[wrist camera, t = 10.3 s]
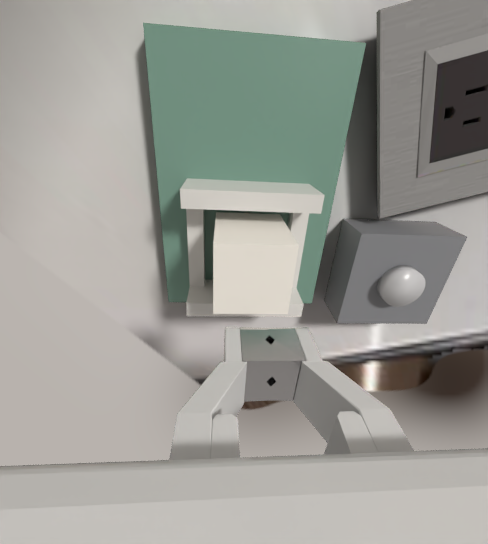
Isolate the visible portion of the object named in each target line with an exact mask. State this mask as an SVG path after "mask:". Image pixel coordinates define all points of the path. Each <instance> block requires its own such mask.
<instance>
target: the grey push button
mask: <svg viewBox="0 0 488 544" xmlns="http://www.w3.org/2000/svg"><path fill="white" fill-rule="evenodd" d="M466 238H467V237H466V236H464V235H462V234H460V233H458V232H456V231H453V230H451V229H449V228H447V227H445V226H443V225H441V224H439V223H437V222H421V221H392V220H364V219H343V222H342V226H341V231H340V235H339V239H338V244H337V248H336V252H335V256H334V261H333V265H332V269H331V274H330V278H329V282H328V286H327V291H326V295H325V299H324V301H325V302H326V304H327V306H328V308H329V309H330V311H331V313H332V315H333V317H334V318H335V320H336V322H337V323H417V324H427V321H428V319H429V317H430V315H431V313H432V311H433V309H434V307H435V304H436V302H437V300H438V298H439V296H440V294H441V292H442V290H443V287H444V285H445V283H446V281H447V279H448V277H449V275H450V273H451V270H452V268H453V266H454V264H455V262H456V260H457V258H458V255H459V253H460V251H461V249H462V247H463V245H464V243H465V241H466Z"/></svg>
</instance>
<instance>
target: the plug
mask: <svg viewBox="0 0 488 544" xmlns="http://www.w3.org/2000/svg"><path fill="white" fill-rule="evenodd" d="M298 248H299V245H298V243H297V242H296V240H295V238H294V237H293V235H292V233H291V232H290V230H289V228H288V227H287V225H286V223H285V222H284V220H283V219H282V217H281V215H280V214H255V213H226V212H216V219H215V230H214V241H213V314H288V310H289V304H290V298H291V292H292V286H293V279H294V273H295V267H296V261H297V255H298Z"/></svg>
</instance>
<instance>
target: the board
mask: <svg viewBox="0 0 488 544" xmlns="http://www.w3.org/2000/svg"><path fill="white" fill-rule="evenodd" d="M143 26H144V37H145V48H146V59H147V70H148V81H149V92H150V103H151V114H152V125H153V136H154V147H155V158H156V169H157V180H158V191H159V202H160V213H161V224H162V235H163V246H164V257H165V268H166V279H167V290H168V301H169V302H186V309H187V316H238V317H301V315H302V310H303V305H304V304H303V303H312V300H313V295H314V290H315V285H316V281H317V276H318V271H319V266H320V262H321V257H322V252H323V247H324V242H325V238H326V233H327V228H328V223H329V219H330V214H331V209H332V204H333V199H334V195H335V190H336V185H337V180H338V176H339V171H340V166H341V161H342V156H343V152H344V147H345V142H346V137H347V132H348V128H349V123H350V118H351V113H352V109H353V104H354V99H355V94H356V89H357V85H358V80H359V75H360V70H361V66H362V61H363V56H364V51H365V46H366V43H361V42H350V41H339V40H328V39H317V38H306V37H295V36H284V35H273V34H262V33H250V32H239V31H228V30H217V29H206V28H195V27H184V26H173V25H162V24H150V23H143ZM216 212H226V213H255V214H280V215H281V217H282V219H283V220H284V222H285V223H286V225H287V227H288V228H289V230H290V232H291V233H292V235H293V237H294V238H295V240H296V242H297V243H298V245H299V248H298V255H297V261H296V267H295V273H294V279H293V286H292V292H291V298H290V304H289V310H288V314H213V241H214V230H215V219H216Z"/></svg>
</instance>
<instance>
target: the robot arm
mask: <svg viewBox="0 0 488 544" xmlns="http://www.w3.org/2000/svg"><path fill="white" fill-rule="evenodd" d="M265 400H285V401H291V400H292V401H294V403H295V404H296V405H297V407H298V408H299V409H300V410H301V412H302V413H303V414H304V415H305V416H306V418H307V419H308V420H309V421H310V422H311V423H312V425H313V426H314V427H315V428H316V430H317V431H318V432H319V433H320V435H321V436H322V437H323V438H324V439H325V440H326V442H327V443H328V444H327V447H326V450H325V453H324V455H298V456H273V457H245V458H244V457H243V458H240V451H239V433H238V418H237V415H238V413H239V411H240V409H241V407H242V406H243V404H244V402H245V401H265ZM0 544H488V448H487V449H459V450H433V451H432V450H431V451H414V450H413V448H412V446H411V445H410V443H409V441H408V439H407V438H406V436H405V434H404V432H403V431H402V429H401V427H400V426H399V424H398V422H397V420H396V419H395V417H394V415H393V413H392V412H391V410H390V409H389V408H388V407H386V406H385V405H384V404H382V403H381V402H380V401H378V400H377V399H376V398H375V397H373V396H372V395H370V394H369V393H368V392H367V391H365V390H364V389H363V388H362V387H360V386H359V385H358V384H356V383H355V382H354V381H352V380H351V379H350V378H348V377H347V376H346V375H345V374H343V373H342V372H341V371H339V370H338V369H337V368H335V367H334V366H333V365H332V364H330V363H329V362H328V361H323V360H322V358H321V355H320V353H319V351H318V348H317V346H316V344H315V341H314V339H313V336H312V334H311V332H310V329H309V328H307V327H302V328H245V327H240V328H236V327H225V339H224V362H220V363H219V364H218V366H217V367H216V368H215V369H214V370H213V372H212V373H211V374H210V375H209V376H208V378H207V379H206V380H205V381H204V382H203V384H202V385H201V386H200V387H199V388H198V390H197V391H196V392H195V393H194V394H193V396H192V397H191V398H190V399H189V400H188V402H187V403H186V404H185V405H184V406H183V408H182V409H181V410H180V411H179V413H178V414H177V419H176V424H175V430H174V436H173V442H172V449H171V454H170V460H161V461H136V462H135V461H134V462H107V463H78V464H51V465H26V466H25V465H23V466H0Z"/></svg>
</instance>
